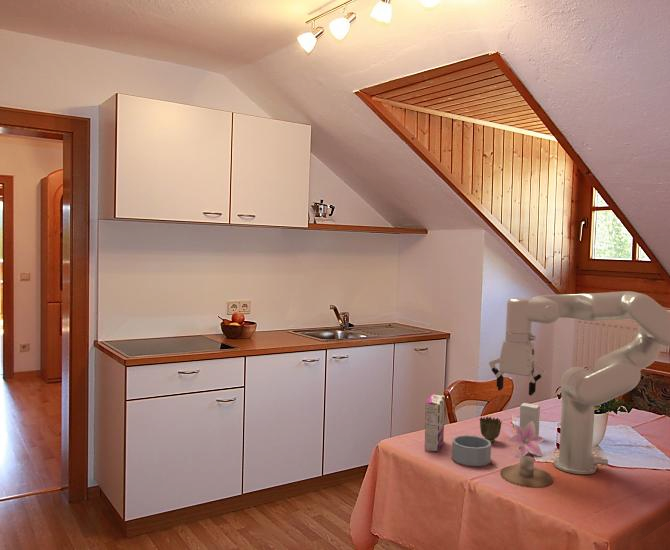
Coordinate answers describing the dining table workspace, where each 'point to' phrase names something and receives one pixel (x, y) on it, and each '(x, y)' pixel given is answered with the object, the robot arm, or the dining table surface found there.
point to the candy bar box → (434, 422)
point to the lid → (526, 474)
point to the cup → (490, 428)
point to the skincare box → (530, 416)
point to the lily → (527, 439)
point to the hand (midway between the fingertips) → (515, 392)
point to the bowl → (471, 450)
